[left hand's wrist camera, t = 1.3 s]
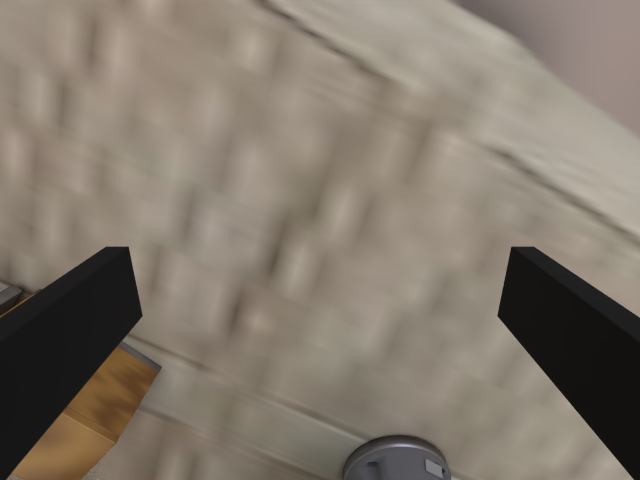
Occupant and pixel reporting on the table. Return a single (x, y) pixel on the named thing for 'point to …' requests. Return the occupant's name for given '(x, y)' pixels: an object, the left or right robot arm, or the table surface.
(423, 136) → the table surface
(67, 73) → the table surface
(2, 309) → the drawer
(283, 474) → the table surface
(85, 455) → the tan rectangular mottled block
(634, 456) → the left robot arm
